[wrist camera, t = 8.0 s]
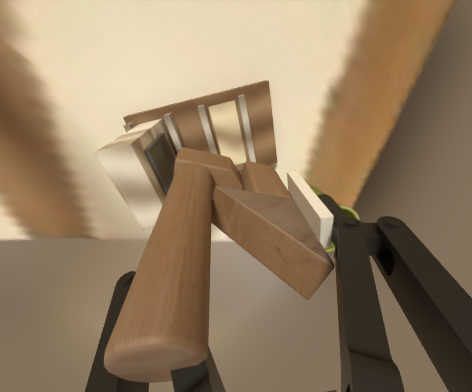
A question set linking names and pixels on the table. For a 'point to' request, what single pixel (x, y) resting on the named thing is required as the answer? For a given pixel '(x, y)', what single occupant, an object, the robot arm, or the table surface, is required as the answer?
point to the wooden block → (206, 260)
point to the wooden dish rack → (187, 143)
